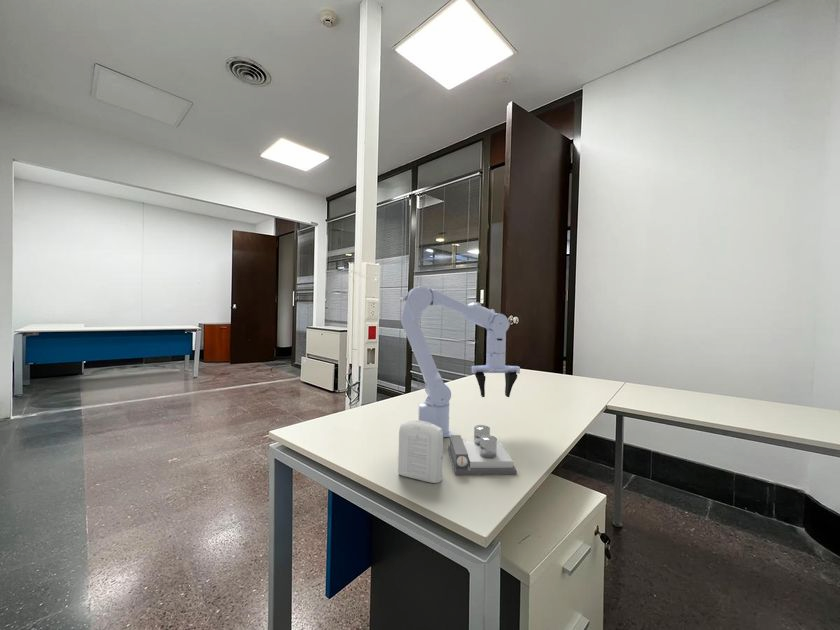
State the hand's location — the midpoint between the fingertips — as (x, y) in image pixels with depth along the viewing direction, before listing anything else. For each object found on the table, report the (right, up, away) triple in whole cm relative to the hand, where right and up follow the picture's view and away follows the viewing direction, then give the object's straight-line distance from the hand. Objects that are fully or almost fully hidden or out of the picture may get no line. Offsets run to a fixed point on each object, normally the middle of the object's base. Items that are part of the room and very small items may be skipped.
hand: (495, 396), depth 101 cm
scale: (-8, -11, -20) cm, 24 cm away
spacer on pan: (-7, -8, -16) cm, 19 cm away
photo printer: (-23, -11, -28) cm, 38 cm away
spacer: (-7, -9, -22) cm, 25 cm away
